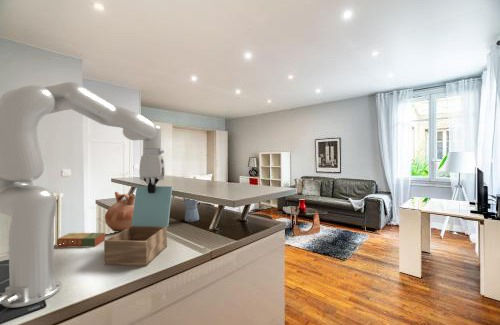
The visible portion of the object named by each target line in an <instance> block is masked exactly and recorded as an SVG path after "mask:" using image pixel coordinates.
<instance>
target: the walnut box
mask: <svg viewBox="0 0 500 325" xmlns="http://www.w3.org/2000/svg"><path fill="white" fill-rule="evenodd" d="M167 229H168V227H152V226H131V227H129V228H127V229H125V230H123V231H121V232H117V233H116V234H114V235H113V236H111V237H109V238H106V239H105V240H104V241H103V243H104V244H103V246H104V247H103V248H104V252H103V253H104V254H103V256H104V261H103V262H104V266H129V267H130V266H131V267H132V266H134V267H148V266H149V265H150V263H151V262H152V261H154V260H155V259H156V258H157V257H158V256H159V255H160V254H161V253H162V252H163V251H165V249H166V248H167V247H168V242H167V241H168V240H167V238H168V230H167Z"/></svg>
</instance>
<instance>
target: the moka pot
mask: <svg viewBox="0 0 500 325" xmlns="http://www.w3.org/2000/svg"><path fill="white" fill-rule="evenodd" d="M182 199H183V204H184V206H185V211H184V212H185V213H184V222H186V221H187V222H186V223H193V222H198V221H199V220H200V214H199V211H198V210H199V209H198V206H200V205H201V202H199V200H198V201H195V200H190V199H185V198H183V197H182Z"/></svg>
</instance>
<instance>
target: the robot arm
mask: <svg viewBox="0 0 500 325" xmlns="http://www.w3.org/2000/svg"><path fill="white" fill-rule="evenodd" d="M69 110H71V111H74V112H76V113H78V114H80V115H81V116H84V117H86V118H88V119H90V120H92V121H94V122H95V123H98V124H100V125H103V126H107V127H113V128H121V129H122V135H123V136H124V137H125V138H126V139H128V140H130V141H142V155H141V157H140V161H139V169H138V170H139V171H138V173H139V180H141V181H144V182H145V183H146V185H147V186H148V193H155V191H156V186H157V184H158V183H159V182H160V181H164V179H165V178H164V177H165V175H166V172H165V160H164V156H163V155H162V154H164V153H165V151H164V150H163V149H162V128H161V126H160V125H158V124H157V125H156V124H154V123H153V122H152V121H151V120H149V119H148V118H147V117H145V116H143V115H141V114H140V113H138V112H135V111H132V110H129V109H126V108H123V107H122V106H118V105H116V104H114V103H111V102H110V101H108V100H107V99H105V98H103V97H101V96H100V95H98V94H97V93H95V92H93V91H92V90H90V89H88V88H87V87H85V86H83V85H81V84H79V83H77V82H73V81H69V82H63V83H57V84H54V85H49V86H48V85H47V86H41V85H40V86H39V85H34V84H33V85H25V86H21V87H17V88H14V89H11V90H8V91H6V92H4V93H3V94H2V95H1V97H0V213H1V214H3V215H5V216H9V217H11V219H10V224H9V228H8V229H9V230H8V238H7V239H8V242H7V244H8V269H9V270H8V273H9V276H8V277H9V286H7V287H5V288H4V289H5V290H4V291H5V292H3V293H2V295H1V296H0V305H2V306H3V307H5V308H14V309H15V308H20V307H21V308H22V307H27V306H29V305H33V304H36V303H40V302H43V301H44V300H47V299H48V298H50V297H52V296H54V295H55V294H56V293H58V292H59V291H60V290H61V288H62V281H61V280H59V279H56V278H55V237H54V236H55V234H54V233H55V232H54V227H55V226H54V225H55V224H54V223H55V216H56V212H57V206H58V205H57V204H58V203H57V198H56V196H55V194H54V193H53V192H52V191H51V190H50V189H48V188H45V187H42V186H39V185H34V184H33V182H34V181H35V180H38V179H39V178H40V177H41V176H42V175H43V173H44V169H45V167H44V166H45V165H44V160H43V156H42V152H41V148H40V143H39V139H38V138H39V137H38V125H39V123H40V121H41V119H43V117H45V116H46V115H50V114H55V113H59V112H63V111H69Z"/></svg>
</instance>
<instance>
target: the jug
mask: <svg viewBox="0 0 500 325" xmlns="http://www.w3.org/2000/svg"><path fill="white" fill-rule="evenodd" d="M135 196H136V194H134V193H130V194H127V193H123V194H121V193H119V192H118V191H115V192H114V197H115V199H116V200H115V201H116V202H115V203H114V204H112V205H111V206H110V207H109V208H108V209H107V211H106V212H105V214H104V220H105V223H106V225H107V227H109V229H110V230H112V231H113V232H115V233H120V232H121V231H123V230H125V229H127V228H129V227H131V224H132V217H133V210H134V203H135ZM124 197H125V198H126V200H123V198H124Z"/></svg>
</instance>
